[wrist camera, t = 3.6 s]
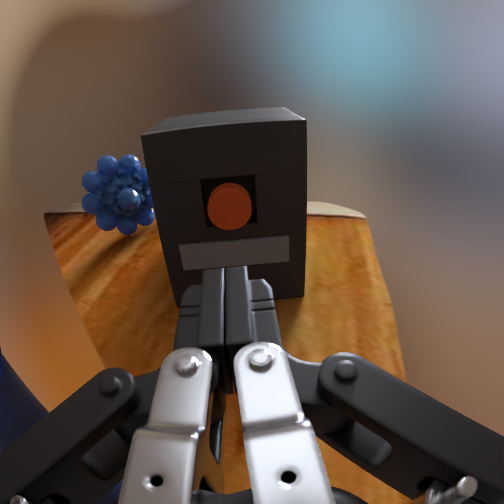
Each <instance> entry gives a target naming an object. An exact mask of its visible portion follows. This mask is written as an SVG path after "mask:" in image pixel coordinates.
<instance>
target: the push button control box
mask: <svg viewBox="0 0 504 504" xmlns="http://www.w3.org/2000/svg"><path fill="white" fill-rule="evenodd" d="M306 123H307V122H306V120H305V119H303V118H301V117H300V116H298V115H296V114H295V113H293V112H291V111H289V110H288V109H286V108H284V107H273V108H254V109H241V110H228V111H217V112H207V113H199V114H191V115H183V116H177V117H169V118H166V119H165V120H163V121H162V122H160V123H159V124H157V125H156V126H154V127H153V128H152V129H150V130H149V131H147V132H146V133H144V134H143V135H141V140H142V147H143V153H144V159H145V165H146V170H147V176H148V181H149V186H150V191H151V197H152V202H153V207H154V212H155V216H156V221H157V226H158V230H159V235H160V240H161V244H162V249H163V253H164V257H165V262H166V266H167V270H168V274H169V278H170V282H171V286H172V290H173V294H174V297H175V301H176V305H177V307H180V305H181V299H182V295H183V294H184V292H185V291H186V290H187V288H188V287H189V286H190V285H202V277H203V270H207V269H218V268H225V272H226V268H229V267H240V266H247V272H248V280H257V279H264V280H265V281H266V282H267V283H268V284H269V285H270V286H271V287H272V292H273V298H274V299H284V298H294V297H303V296H304V287H305V262H306V226H307V219H306V218H307V124H306ZM224 183H235V184H238V185H240V186H242V187H244V188H245V189H246V191H247V192H248V193H249V196H250V199H251V206H252V213H251V217H250V219H249V220H248V222H247V223H246V224H245V225H243V226H242V227H240V228H238V229H234V230H225V229H221V228H219V227H217V226H216V225H215V224H213V223H212V221H211V220H210V218H209V216H208V210H207V209H208V202H209V197H210V194H211V193H212V191H213V190H214V189H215V188H216V187H217V186H219V185H221V184H224Z"/></svg>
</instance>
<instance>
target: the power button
mask: <svg viewBox="0 0 504 504" xmlns="http://www.w3.org/2000/svg"><path fill="white" fill-rule="evenodd" d="M207 210H208V216H209V218H210V220H211V221H212V223H213V224H215V225H216V226H217V227H219V228H221V229H225V230H234V229H238V228H240V227H242V226H243V225H245V224H246V223H247V222H248V220H249V219H250V217H251V213H252V206H251V199H250V196H249V193H248V192H247V191H246V189H245V188H244V187H242V186H240V185H238V184H235V183H224V184H221V185H219V186H217V187H216V188H215V189H214V190H213V191H212V193H211V194H210V197H209V202H208V209H207Z"/></svg>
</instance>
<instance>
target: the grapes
mask: <svg viewBox="0 0 504 504" xmlns="http://www.w3.org/2000/svg"><path fill="white" fill-rule="evenodd" d="M97 170H98V171H99V172H96V171H88V172H87V173H86V174H85V175H84V176H83V177H82V185H83V187H84V188H85V189H86V190H87V191H88V192H90V193H88V194H86V195H85V196H84V197H83V198H82V207H83V209H84V210H85V211H86V212H87V213H89V214H91V215H92V214H97V216H96V224H97V225H98V227H99V228H101V229H102V230H104V231H110V230H113V229H114V228H115V227H116V225H117V229H118V230H119V231H120V232H121V233H123V234H125V235H130V234H133V233H134V232H135V231H136V229H137V223H138V224H140V225H142V226H147V225H150V224H151V223H152V222H153V221H154V218H155V217H154V212H153V211H152V209H151V208H154V207H153V202H152V197H151V191H150V186H149V181H148V176H147V170H146V168H141V169H140V163H139V161H138V159H137V158H136V157H135V156H133V155H124V156H123V157H122V158H121V159H120V160H119V163H118V162H117V160H116V159H115V158H114V157H112V156H102V157H101V158H100V159H99V160H98V162H97Z"/></svg>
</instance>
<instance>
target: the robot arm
mask: <svg viewBox="0 0 504 504" xmlns="http://www.w3.org/2000/svg"><path fill="white" fill-rule="evenodd" d="M233 383H234V388H235V393H236V394H237V393H238V399H239V406H240V413H241V419H242V427H243V438H244V445H245V451H246V458H247V464H248V470H249V476H250V482H251V489H248V490H244V491H241V492H237V493H233V494H229V495H224V476H223V454H224V439H225V425H226V412H225V411H226V394H233ZM315 435H316V436H317V437H318V438H319V439H321V440H322V441H324V442H325V443H326V444H328V445H329V446H330V447H332V448H333V449H335V450H336V451H337V452H339V453H340V454H342V455H343V456H345V457H346V458H347V459H349V460H350V461H352V462H353V463H355V464H356V465H358V466H359V467H361V468H362V469H364V470H365V471H367V472H368V473H370V474H371V475H373V476H374V477H376V478H378V479H379V480H381V481H382V482H384V483H385V484H387V485H389V486H390V487H392V488H394V489H395V490H397V491H399V492H400V493H402V494H404V495H405V496H407V497H409V498H410V499H412V500H413V503H412V504H504V436H502V435H500V434H498V433H496V432H494V431H492V430H490V429H488V428H487V427H484V426H483V425H481V424H479V423H477V422H475V421H473V420H472V419H470V418H468V417H466V416H464V415H462V414H460V413H459V412H457V411H455V410H453V409H451V408H450V407H448V406H446V405H444V404H442V403H441V402H438V401H437V400H435V399H433V398H432V397H430V396H428V395H426V394H424V393H422V392H421V391H419V390H417V389H416V388H414V387H412V386H410V385H409V384H407V383H405V382H403V381H402V380H400V379H398V378H396V377H395V376H393V375H391V374H389V373H388V372H386V371H384V370H383V369H381V368H379V367H377V366H376V365H374V364H372V363H371V362H369V361H367V360H366V359H364V358H362V357H360V356H358V355H356V354H353V353H346V352H342V353H336V354H333V355H331V356H329V357H327V358H326V359H325V360H324V361H323V362H322V363H316V362H308V361H303V360H299V359H297V358H295V357H293V356H291V355H290V354H289V353H288V352H287V351H286V350H285V349H284V347H283V345H282V341H281V335H280V330H279V325H278V319H277V314H276V309H275V303H274V298H273V292H272V287H271V286H270V285H269V284H268V283H267V282H266V281H265V280H264V279H257V280H248V272H247V266H240V267H229V268H226V272H225V268H218V269H207V270H203V277H202V285H190V286H189V287H188V288H187V290H186V291H185V292H184V294H183V295H182V299H181V305H180V311H179V318H178V323H177V329H176V335H175V342H174V349H173V352H172V353H170V354H169V355H168V356H167V357H166V358H165V359H164V361H163V363H162V366H161V368H159V369H158V370H156V371H153V372H150V373H147V374H143V375H140V376H136V377H132V375H131V374H130V373H129V372H128V371H126V370H124V369H122V368H109V369H105V370H103V371H101V372H100V373H98V374H97V375H95V376H94V377H93V378H92V379H91V380H89V381H88V382H87V383H86V384H84V385H83V386H82V387H81V388H79V389H78V390H77V391H76V392H75V393H73V394H72V395H71V396H70V397H68V398H67V399H66V400H65V401H64V402H62V403H61V404H60V405H59V406H57V407H56V408H55V409H54V410H52V411H51V412H50V413H49V414H47V415H46V416H45V417H44V418H43V419H41V420H40V421H39V422H38V423H36V424H35V425H34V426H33V427H32V428H30V429H29V430H28V431H27V432H25V433H24V434H23V435H22V436H21V437H19V438H18V439H17V440H16V441H14V442H13V443H12V444H11V445H10V446H8V447H7V448H6V449H5V450H3V451H2V452H1V453H0V504H95V503H96V502H98V501H99V500H100V499H101V498H102V497H103V496H104V495H106V494H107V493H108V492H109V491H110V490H111V489H112V488H113V487H115V486H116V485H117V484H118V483H119V482H120V481H121V480H122V479H123V482H122V486H121V491H120V496H119V500H117V501H116V502H114V503H113V504H368V503H366V502H365V501H364V500H362V499H361V498H359V497H358V496H356V495H354V494H352V493H350V492H347V491H345V490H342V489H339V488H335V487H331V486H330V482H329V479H328V476H327V472H326V469H325V466H324V462H323V459H322V456H321V452H320V449H319V446H318V442H317V439H316V436H315Z"/></svg>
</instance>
